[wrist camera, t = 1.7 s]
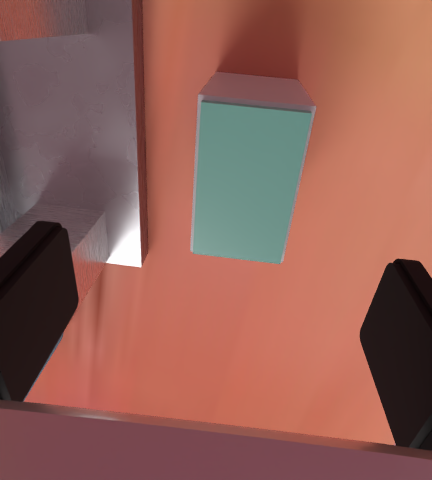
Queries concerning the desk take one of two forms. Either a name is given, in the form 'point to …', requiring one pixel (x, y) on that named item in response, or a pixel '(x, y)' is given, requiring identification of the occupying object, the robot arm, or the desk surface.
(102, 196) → the rail
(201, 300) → the desk surface
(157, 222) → the desk surface
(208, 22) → the desk surface
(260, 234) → the block
